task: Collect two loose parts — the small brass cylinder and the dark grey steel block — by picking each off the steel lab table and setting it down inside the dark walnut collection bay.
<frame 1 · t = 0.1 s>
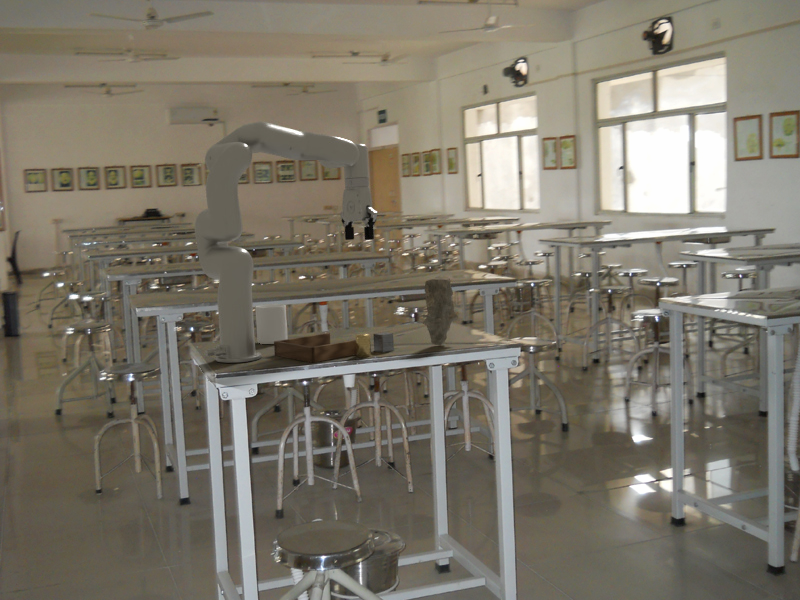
hand: (359, 239, 254), 31 cm above the table, fingers open, 9 cm apart
bay: (320, 353, 232), on the table
white box: (272, 342, 258), on the table
brass part: (363, 356, 226), on the table
stone tool: (441, 346, 239), on the table
steel block: (384, 350, 233), on the table
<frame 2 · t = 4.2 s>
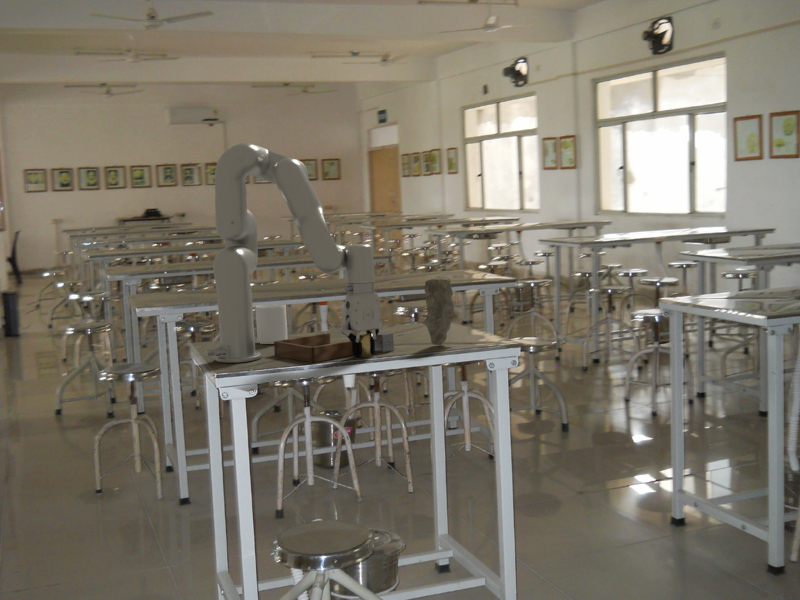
hand: (363, 354, 226), 1 cm above the table, fingers closed on brass part, 4 cm apart
brass part: (363, 355, 226), on the table, touching gripper
everything else where it was.
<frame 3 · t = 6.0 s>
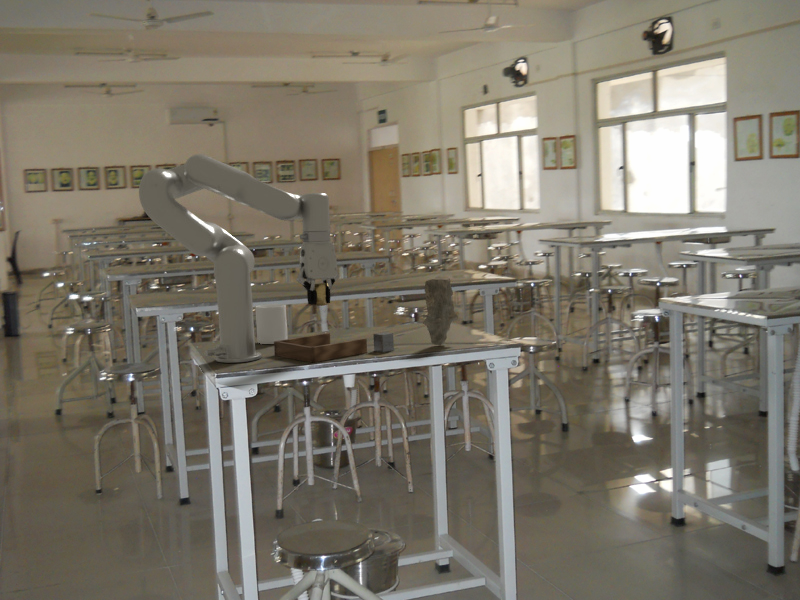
hand: (319, 303, 227), 15 cm above the table, fingers closed on brass part, 4 cm apart
brass part: (319, 304, 227), point 14 cm above the table, touching gripper
everything else where it was.
when the fingers open (2 cm above the table, at t = 8.3 s): brass part drops 2 cm, resting in bay.
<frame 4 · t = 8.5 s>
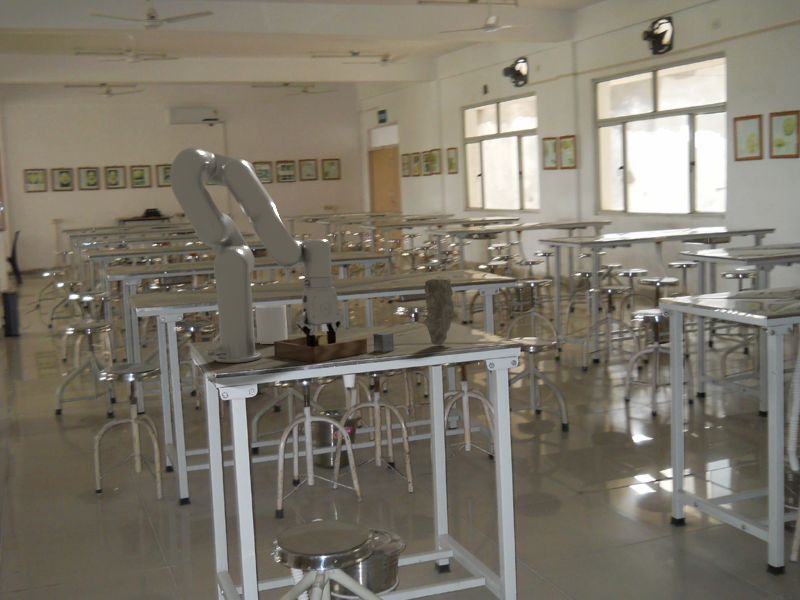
hand: (321, 346, 229), 3 cm above the table, fingers open, 6 cm apart
brass part: (321, 355, 229), resting in bay
everything else where it was.
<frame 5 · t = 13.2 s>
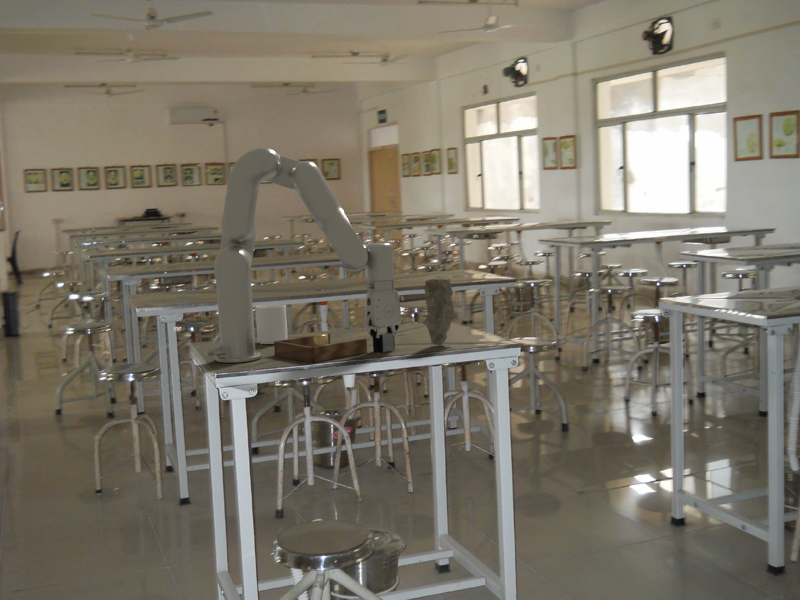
hand: (384, 349, 233), 0 cm above the table, fingers closed on steel block, 4 cm apart
steel block: (384, 350, 233), on the table, touching gripper
everything else where it was.
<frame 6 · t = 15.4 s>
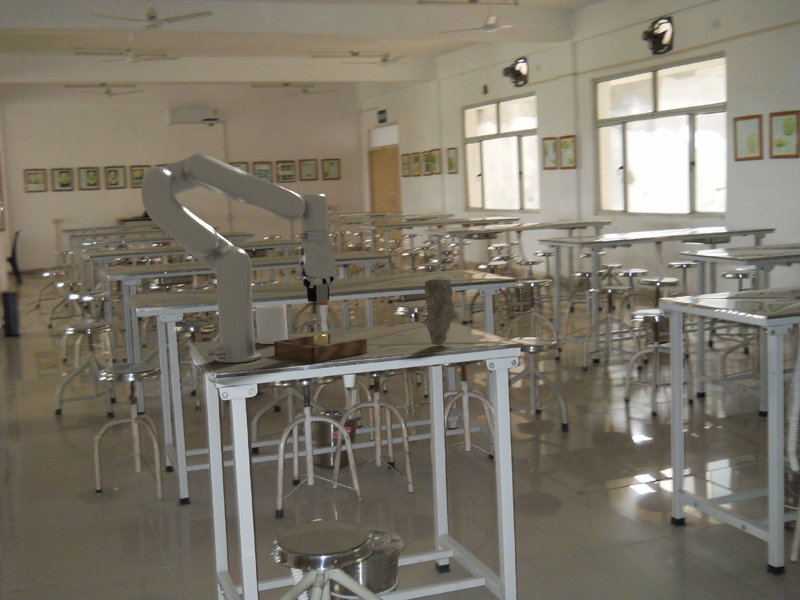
hand: (318, 300, 234), 15 cm above the table, fingers closed on steel block, 4 cm apart
steel block: (318, 301, 234), point 15 cm above the table, touching gripper
everything else where it was.
when the fingers open (2 cm above the table, at t = 17.6 s): steel block drops 1 cm, on the table.
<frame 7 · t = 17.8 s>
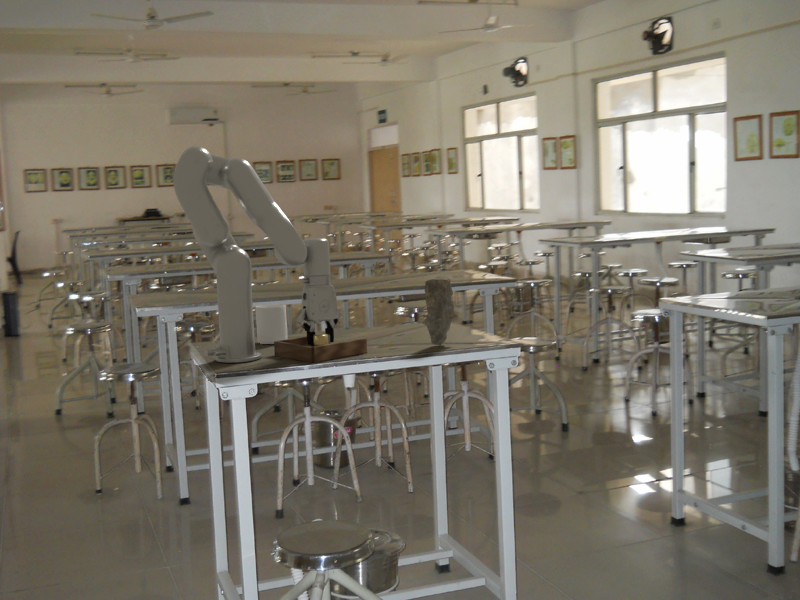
hand: (320, 342, 236), 3 cm above the table, fingers open, 5 cm apart
steel block: (320, 351, 236), on the table
everything else where it was.
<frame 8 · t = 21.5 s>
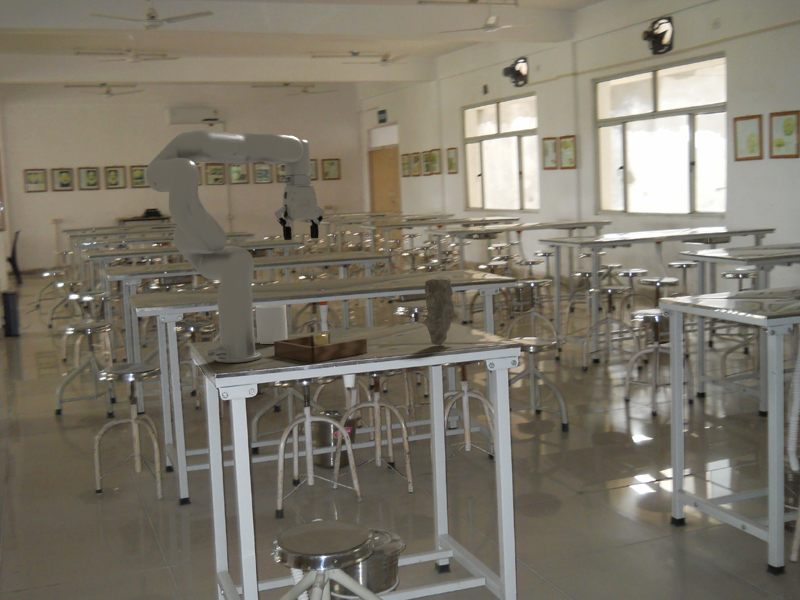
hand: (301, 239, 245), 32 cm above the table, fingers open, 9 cm apart
nothing on the table moved.
at the end: steel block inside the target area (4.0 cm from its centre), on the table; brass part inside the target area (3.2 cm from its centre), resting in bay; brass part tilted 0° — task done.
